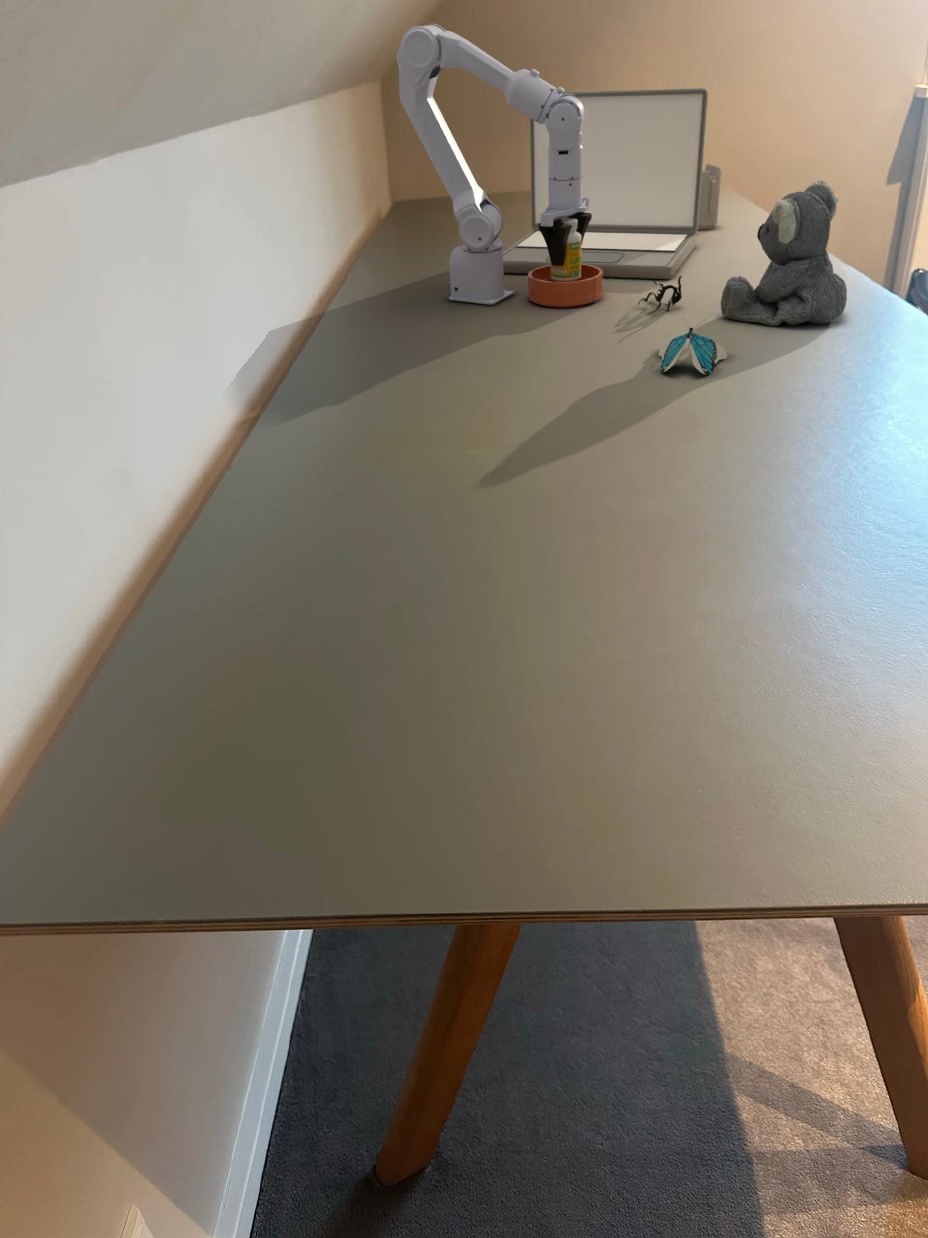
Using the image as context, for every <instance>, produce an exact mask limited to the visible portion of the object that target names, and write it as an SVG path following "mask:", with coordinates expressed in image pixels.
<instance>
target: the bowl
mask: <svg viewBox="0 0 928 1238" xmlns="http://www.w3.org/2000/svg"><path fill="white" fill-rule="evenodd" d="M603 286H604V277H603V271H602V270H601V268H598V267H596V266H592V265H587V264H581V277H580V278H579V279H577V280H574V281H555V280H553V279H552V278H551V265H547V266H542V267H539V268H535V269H533V270H531V271H530V272H529V273H528V274H527V298H528V299H529V301H531V302H533V303H535V304H538V305H540V306H544V307H548V308H573V307H574V308H576V307H582V306H585V305H590V304H592V303H594V302H596V301H598V300H599V299H601V298H602V296H603V293H604V292H603V288H604V287H603Z"/></svg>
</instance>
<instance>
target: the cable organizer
mask: <svg viewBox="0 0 928 1238" xmlns="http://www.w3.org/2000/svg"><path fill="white" fill-rule="evenodd" d="M722 172H723V168H722V167H719V166H715V165H713V164H710V163H706V166H705V168H704V170H702V181H701V194H700V207H699V220H698V230H709V229H712V228H714V227H715V226H716V225H717V223H718V222H719V221H718V219H719V207H720V198H721V197H720V196H721V187H722V185H721V184H722Z"/></svg>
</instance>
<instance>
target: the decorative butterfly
mask: <svg viewBox="0 0 928 1238" xmlns="http://www.w3.org/2000/svg"><path fill="white" fill-rule="evenodd" d="M706 320H707V319H705V318H704V319H703V320H702V321H700V322H699V323H697V325H699V324H700V323H702V322H703V321H706ZM683 321H684V322H686V320H685V319H683ZM686 324H687V323H686ZM697 325H695V326H693V327H691V326H690V327H688V332H686V333H684V334H681V335H678V336H676V337H675V338H673V339H671V340H670V341H668V342H667V343H666V344H664V345H663V346H662V347H661V348H660V350H659V351H658V356H659V357H661V361H662V363H661V365H660V372H661V373H664V372H667V371H668V370H669V369H671V368H672V367H673V366H674V365H675V363H676V362H677V361H678V359H679V357H680V354H681V353H682V352H683V350H687V348H688V347H689V349H690V352H691V353H690V354H691V362H692V364H693V366H694V368H695V369H697V371H698V372H700V373H701V374H703V375H706V376H709V375H710V374H712V373H713V371H714V364H717V363H718V362H719V361H720V360H726V359H727V358H728V353H727V351H726V349H725V348H724V347H723V346H722V345H720V344H719V343H717V342H715V341H714V340H713V339H711V338H709V337H706V336H702V335H700V334H698V333H694V332H693V331H694V328H696V326H697ZM687 326H689V325H688V324H687ZM684 348H685V349H684Z"/></svg>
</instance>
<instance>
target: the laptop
mask: <svg viewBox="0 0 928 1238" xmlns="http://www.w3.org/2000/svg"><path fill="white" fill-rule="evenodd" d="M564 94H573V95H575V96H576V98H577V99H578V100H579V101H580V102H581V103H582V105H583V107H584V111H585V117H584V121H583V124H582V126H581V127H580V129H579V130H582V147H583V174H582V198H589V210H587V211H585V212H584V213H591V214H592V218H591V220H590V222H589V224H588V226H587V229H586V231H585V234H584V238H583V242H582V246H581V264H587V265H592V266H596V267H598V268H601V270H602V271H603V278H625V279H627V278H628V279H649V280H651V279H652V280H670V279H672V277H673V276H674V275H675V274H676V272H677V271H678V270H679V268H680V267H681V266H682V265H683V263H684V262H685V260H686V259H687V258H688V256H689V255H690V254H691V252H692V251H693V250H694V248H696V239H697V237H696V234H697V232H698V230H699V229H698V220H699V207H700V194H701V181H702V171H703V169H704V168H703V167H704V154H705V141H706V127H707V115H708V104H709V103H708V100H709V91H708V89H707V88H704V87H695V88H694V87H693V88H691V87H690V88H661V89H660V88H659V89H624V90H591V91H587V90H586V91H564V93H563V95H564ZM529 138H530V139H529V140H530V142H529V144H530V146H529V147H530V201H531V203H530V204H531V205H530V207H531V208H530V209H531V229H532V231H530V232H529V233H527V234H526V235H524V236H523V237H522V238H521V239H519V240H517V241H516V242H514V243H513V244H512V245H510V246H509V247H508V248H506V249H505V250H503V272H504V274H520V275H521V274H523V275H524V274H525V275H528V273H529V272H530V271H531V270H533V269H535V268H539V267H542V266H547V265H551V260H550V256H549V252H548V248H547V245H546V242H545V240H544V237H543V235H542V234H541V232H540V230H539V223H540V214H541V213H543V212H544V211H545V210H546V208H547V207H548V206H549V166H548V149H549V132H548V131H547V129H546V126H545V124H539V123H538V122H536V121H534V120H533V119H531V118H529Z"/></svg>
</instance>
